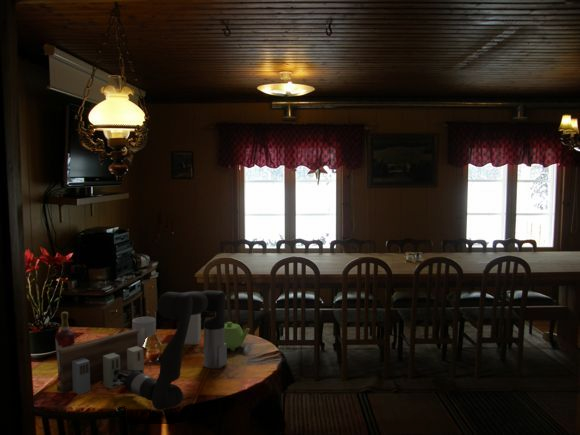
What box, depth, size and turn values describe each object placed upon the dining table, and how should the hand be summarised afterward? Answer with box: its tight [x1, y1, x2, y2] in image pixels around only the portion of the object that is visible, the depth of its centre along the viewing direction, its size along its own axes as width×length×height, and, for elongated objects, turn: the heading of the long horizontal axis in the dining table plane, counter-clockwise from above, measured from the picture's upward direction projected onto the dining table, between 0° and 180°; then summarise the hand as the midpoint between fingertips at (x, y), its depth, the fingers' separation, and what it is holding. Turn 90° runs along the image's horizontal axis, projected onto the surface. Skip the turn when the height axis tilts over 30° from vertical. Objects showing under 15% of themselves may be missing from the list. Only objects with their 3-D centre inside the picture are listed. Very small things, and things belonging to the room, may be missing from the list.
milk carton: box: [184, 313, 202, 345], centre depth 240 cm, size 7×7×19 cm
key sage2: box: [103, 353, 121, 390], centre depth 189 cm, size 5×4×12 cm
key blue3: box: [72, 358, 91, 396], centre depth 183 cm, size 5×4×12 cm
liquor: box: [54, 311, 76, 382], centre depth 194 cm, size 7×7×28 cm
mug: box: [131, 316, 157, 348], centre depth 234 cm, size 15×11×13 cm
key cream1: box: [127, 346, 145, 374], centre depth 197 cm, size 5×4×12 cm
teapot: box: [225, 321, 250, 352], centre depth 233 cm, size 20×13×13 cm
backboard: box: [56, 329, 139, 395], centre depth 195 cm, size 6×33×17 cm, turn 140°
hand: (116, 372), depth 187 cm, fingers closed
